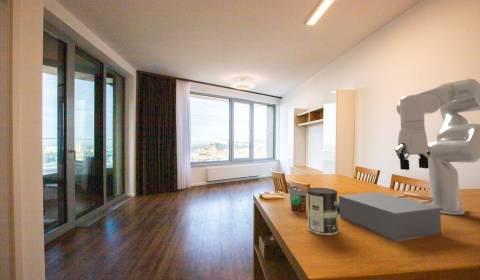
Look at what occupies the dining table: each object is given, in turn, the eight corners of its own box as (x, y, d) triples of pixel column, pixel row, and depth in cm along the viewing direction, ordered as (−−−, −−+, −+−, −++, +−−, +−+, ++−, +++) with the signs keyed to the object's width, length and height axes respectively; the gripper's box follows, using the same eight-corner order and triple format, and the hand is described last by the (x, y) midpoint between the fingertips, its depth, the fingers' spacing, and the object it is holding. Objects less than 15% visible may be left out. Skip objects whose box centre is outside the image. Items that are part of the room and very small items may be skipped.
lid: (390, 192, 97) (389, 188, 97) (457, 207, 73) (457, 202, 73) (338, 197, 90) (338, 192, 90) (395, 216, 66) (394, 209, 66)
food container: (285, 206, 106) (285, 186, 106) (297, 205, 107) (296, 185, 107) (293, 214, 94) (293, 191, 94) (307, 213, 94) (306, 191, 95)
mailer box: (377, 212, 94) (377, 194, 94) (441, 234, 71) (440, 210, 71) (339, 217, 89) (339, 198, 89) (395, 242, 66) (394, 216, 66)
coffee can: (337, 226, 79) (336, 188, 80) (339, 237, 70) (338, 194, 70) (308, 223, 83) (307, 186, 83) (306, 233, 73) (305, 192, 74)
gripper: (419, 126, 91) (421, 166, 91) (386, 127, 87) (388, 169, 87) (439, 125, 84) (441, 168, 84) (404, 125, 80) (406, 171, 79)
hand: (414, 168), depth 85 cm, fingers open, 9 cm apart
